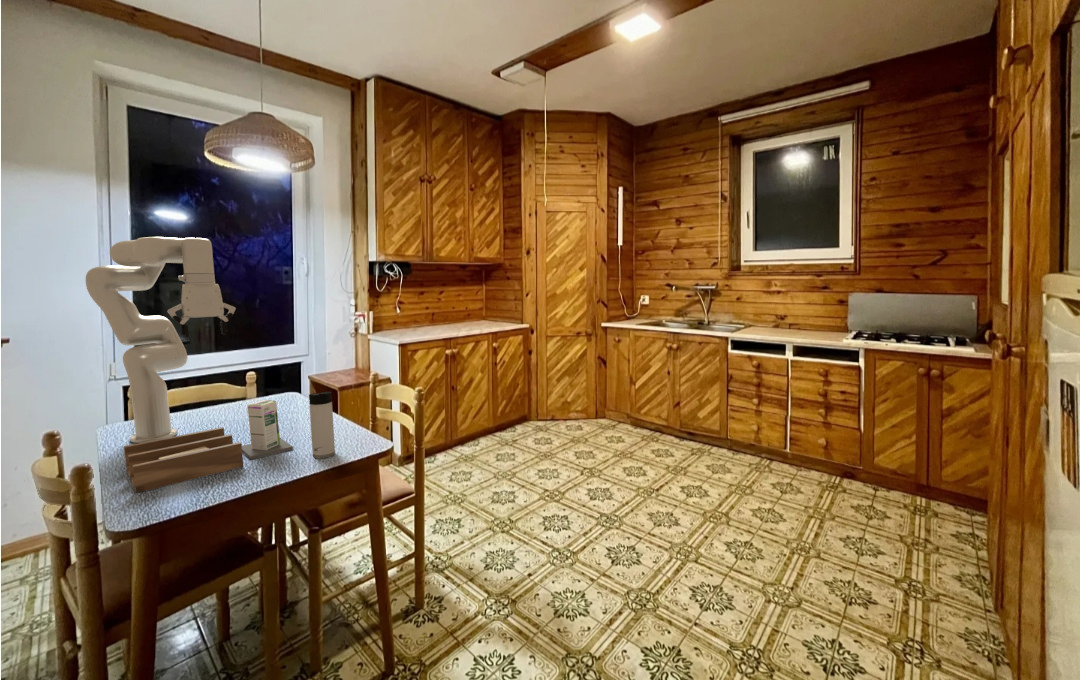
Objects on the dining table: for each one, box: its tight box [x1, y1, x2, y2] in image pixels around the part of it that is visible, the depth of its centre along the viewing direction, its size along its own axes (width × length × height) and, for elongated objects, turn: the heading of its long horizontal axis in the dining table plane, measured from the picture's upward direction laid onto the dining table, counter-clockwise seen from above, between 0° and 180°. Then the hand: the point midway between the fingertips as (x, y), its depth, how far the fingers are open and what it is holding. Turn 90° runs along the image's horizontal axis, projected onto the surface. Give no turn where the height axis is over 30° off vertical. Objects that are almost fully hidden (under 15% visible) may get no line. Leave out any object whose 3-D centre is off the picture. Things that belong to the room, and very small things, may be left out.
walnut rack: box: [123, 426, 244, 493], centre depth 139 cm, size 21×24×7 cm
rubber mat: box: [242, 437, 294, 460], centre depth 154 cm, size 12×12×1 cm
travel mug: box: [308, 391, 336, 460], centre depth 148 cm, size 6×7×20 cm
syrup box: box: [247, 399, 281, 450], centre depth 153 cm, size 6×6×14 cm
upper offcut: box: [159, 446, 209, 459], centre depth 136 cm, size 6×11×3 cm, turn 146°
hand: (205, 335), depth 150 cm, fingers open, 9 cm apart
